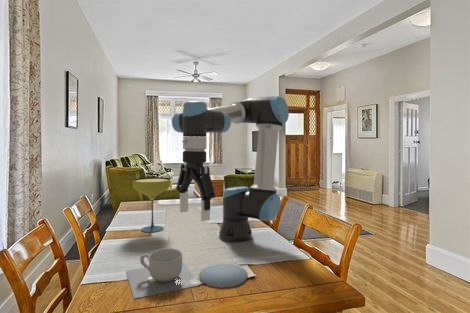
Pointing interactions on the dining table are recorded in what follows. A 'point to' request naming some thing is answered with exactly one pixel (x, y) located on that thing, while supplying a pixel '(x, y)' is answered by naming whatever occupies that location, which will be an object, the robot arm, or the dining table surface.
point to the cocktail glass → (151, 194)
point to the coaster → (223, 275)
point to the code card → (156, 282)
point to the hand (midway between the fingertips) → (194, 215)
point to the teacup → (164, 264)
